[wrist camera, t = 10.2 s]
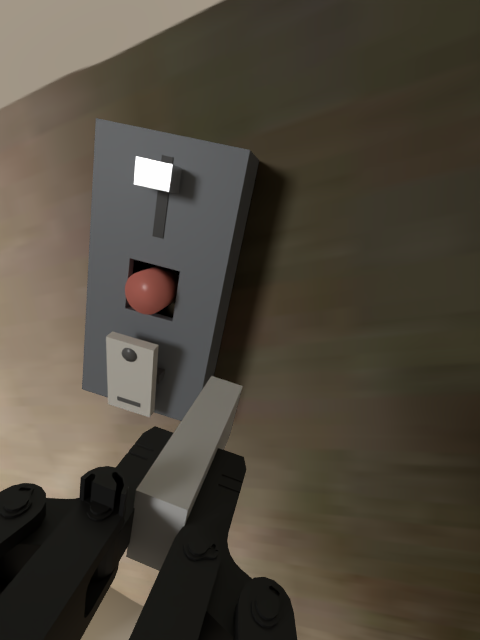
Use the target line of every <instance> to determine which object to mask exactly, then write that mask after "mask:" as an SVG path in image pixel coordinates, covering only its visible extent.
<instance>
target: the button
mask: <svg viewBox="0 0 480 640" xmlns="http://www.w3.org/2000/svg"><path fill="white" fill-rule="evenodd" d="M178 282H179V277H178V275H177V274H176V273H175V272H174V271H173V270H172V269H169V268H165V267H162V266H155V267H152V268H149V269H146V270H143V271H140V272H137V273H134V274H133V275H131V276H130V277H129V278H128V280H127V282H126V285H125V295H126V299H127V301H128V303H129V304H130V305H131V307H132V308H133V309H135V310H136V311H137V312H139V313H142V314H147V315H149V314H154V313H156V312H158V311H160V310H161V309H163V308H165V307H166V306H168V305H169V304H171V303H172V302H174V301H175V300H176V295H177V288H178Z"/></svg>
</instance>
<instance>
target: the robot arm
mask: <svg viewBox="0 0 480 640" xmlns="http://www.w3.org/2000/svg"><path fill="white" fill-rule="evenodd" d="M242 387H243V386H241V385H238V384H235V383H232V382H229V381H226V380H223V379H220V378H216V377H213V376H211V377H210V379H209V380H208V382H207V383H206V385H205V386H204V388H203V389H202V391H201V392H200V394H199V395H198V397H197V398H196V400H195V402H194V403H193V405H192V406H191V408H190V409H189V411H188V412H187V414H186V415H185V417H184V418H183V420H182V421H181V423H180V424H179V426H178V427H177V429H176V430H175V432H174V433H172V432H169V431H167V430H164V429H161V428H158V427H153V428H151V429H150V430H148V431H146V432H144V433H143V434H142V435H141V437H140V438H139V439H138V440H137V442H136V443H135V445H133V447H132V448H131V449H130V450H129V452H128V454H126V455H125V457H124V458H123V459H122V460H121V462H120V463H119V464H118V465H117V467H116V468H115V467H110V466H105V467H98V468H95V469H93V470H90V471H88V472H87V473H86V474H85V475H83V476H82V477H81V484H80V498H76V499H55V498H46V493H45V492H44V490H43V489H42V487H40V486H38V485H35V484H29V483H22V484H18V485H13V486H11V487H9V488H7V489H5V490H3V491H1V492H0V640H80V639H81V637H82V636H83V634H84V632H85V630H86V628H87V627H88V625H89V623H90V621H91V620H92V617H93V616H94V614H95V612H96V611H97V609H98V607H99V605H100V603H101V602H102V600H103V598H104V596H105V594H106V593H107V591H108V589H109V587H110V585H111V584H112V582H113V580H114V578H115V576H116V573H117V570H118V565H119V561H120V559H121V557H122V555H123V554H124V552H125V550H126V549H127V547H128V549H127V556H126V557H128V558H131V559H133V560H135V561H138V562H140V563H142V564H145V565H147V566H150V567H152V568H154V569H157V570H159V571H160V572H159V574H158V576H157V578H156V580H155V583H154V585H153V587H152V589H151V592H150V594H149V596H148V598H147V601H146V603H145V605H144V607H143V610H142V612H141V614H140V616H139V618H138V621H137V623H136V625H135V627H134V630H133V632H132V634H131V636H130V638H129V640H297V634H296V627H295V619H294V612H293V608H292V605H291V601H290V598H289V597H288V595H287V594H286V592H285V590H284V589H283V588H282V587H281V586H280V585H279V584H278V583H276V582H275V581H274V580H271V579H269V578H266V577H257V578H253V579H252V578H251V577H249V576H248V575H247V574H246V573H245V572H244V571H243V570H241V569H240V568H239V567H238V565H237V564H236V563H235V562H234V560H233V559H232V557H231V555H230V552H229V549H228V543H227V538H228V532H229V528H230V525H231V521H232V518H233V514H234V511H235V507H236V504H237V500H238V497H239V493H240V490H241V486H242V483H243V479H244V476H245V472H246V466H245V461H244V457H242V456H239V455H236V454H234V453H231V452H228V451H225V450H224V448H225V446H226V443H227V441H228V438H229V436H230V433H231V429H232V425H233V421H234V418H235V414H236V410H237V406H238V402H239V399H240V395H241V391H242Z"/></svg>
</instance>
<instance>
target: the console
mask: <svg viewBox="0 0 480 640" xmlns="http://www.w3.org/2000/svg"><path fill="white" fill-rule="evenodd" d="M136 157H141V158H145V159H150V160H154V161H159V162H164V163H168V164H173V165H175V166H178V167H181V168H182V174H181V181H180V188H179V194H177V193H171V192H166V191H162V190H157V189H153V188H149V187H144V186H140V185H136V184H134V176H135V165H136ZM258 164H259V160H258V158H257V157H256V156H255V155H254V154H253V153H252V152H251V151H250V150H247V149H242V148H237V147H232V146H227V145H223V144H218V143H213V142H208V141H203V140H198V139H194V138H189V137H184V136H179V135H174V134H169V133H165V132H160V131H155V130H150V129H145V128H140V127H136V126H131V125H126V124H121V123H116V122H111V121H107V120H102V119H97V118H96V128H95V148H94V167H93V187H92V206H91V226H90V245H89V265H88V284H87V304H86V323H85V343H84V363H83V382H82V389H83V390H86V391H89V392H93V393H96V394H99V395H102V396H105V397H108V385H107V354H106V336H107V335H108V334H110V333H111V332H112V331H113V332H116V333H119V334H123V335H126V336H130V337H133V338H136V339H140V340H143V341H147V342H150V343H154V344H157V345H159V346H158V362H157V378H156V394H155V409H154V412H155V413H158V414H161V415H164V416H167V417H170V418H174V419H177V420H180V421H182V420H183V418H184V417H185V415H186V414H187V412H188V411H189V409H190V408H191V406H192V405H193V403H194V402H195V400H196V398H197V397H198V395H199V394H200V392H201V391H202V389H203V388H204V386H205V385H206V383H207V382H208V380H209V379H210V377H211V376H213V377H214V373H215V368H216V363H217V359H218V354H219V349H220V344H221V340H222V335H223V330H224V325H225V321H226V316H227V311H228V306H229V302H230V297H231V292H232V287H233V283H234V278H235V273H236V268H237V264H238V259H239V254H240V250H241V245H242V240H243V235H244V231H245V226H246V221H247V216H248V212H249V207H250V202H251V197H252V193H253V188H254V183H255V178H256V174H257V169H258ZM134 259H135V260H139V261H142V262H146V263H150V264H154V265H158V266H162V267H165V268H169V269H173V270H177V271H180V275H179V282H178V288H177V295H176V301H175V308H174V315H173V318H170V317H167V316H163V315H160V314H156V313H154V314H149V315H147V314H142V313H139V312H137V311H136V310H135V309H133V308H132V307H131V306H129V305H130V304H129V303H128V301H127V299H126V295H125V285H126V282H127V280H128V278H129V277H130V276H131V275H133V265H134Z"/></svg>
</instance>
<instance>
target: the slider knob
mask: <svg viewBox="0 0 480 640" xmlns="http://www.w3.org/2000/svg"><path fill="white" fill-rule="evenodd" d="M181 174H182V168H181V167H178V166H175V165H173V164H168V163H164V162H159V161H154V160H150V159H145V158H141V157H136V165H135V176H134V184H136V185H140V186H144V187H149V188H153V189H157V190H162V191H166V192H171V193H177V194H179V188H180V181H181Z"/></svg>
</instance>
